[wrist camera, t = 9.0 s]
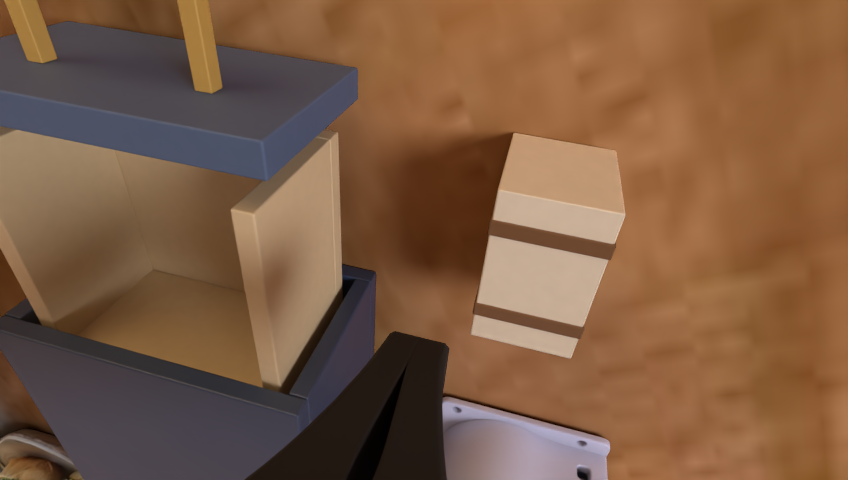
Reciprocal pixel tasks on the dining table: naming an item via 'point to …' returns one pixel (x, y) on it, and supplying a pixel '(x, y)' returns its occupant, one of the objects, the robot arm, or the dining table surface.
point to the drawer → (173, 192)
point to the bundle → (548, 243)
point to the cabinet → (179, 397)
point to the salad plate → (34, 457)
